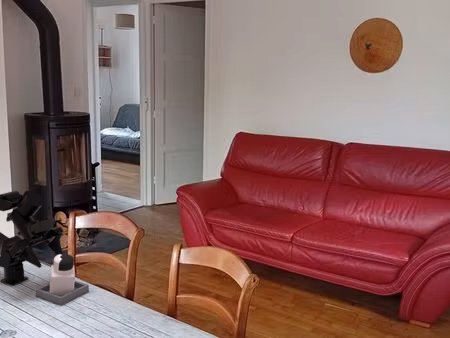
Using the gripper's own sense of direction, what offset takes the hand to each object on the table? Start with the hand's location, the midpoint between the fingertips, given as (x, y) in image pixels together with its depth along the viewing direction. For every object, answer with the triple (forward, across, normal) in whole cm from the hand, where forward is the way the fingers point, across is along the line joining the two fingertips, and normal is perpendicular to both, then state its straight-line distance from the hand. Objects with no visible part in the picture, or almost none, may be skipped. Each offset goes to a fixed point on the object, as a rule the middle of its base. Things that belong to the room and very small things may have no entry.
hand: (51, 262), depth 161 cm
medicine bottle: (+9, 0, +4) cm, 10 cm away
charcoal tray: (+10, 0, +4) cm, 11 cm away
